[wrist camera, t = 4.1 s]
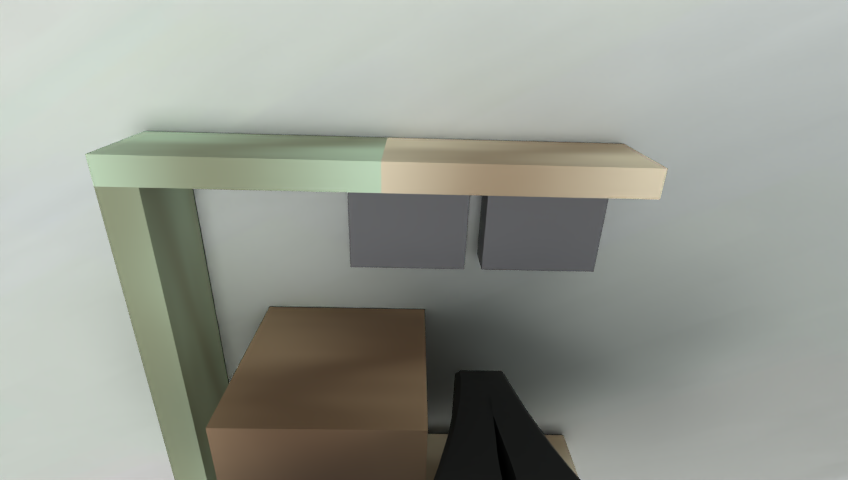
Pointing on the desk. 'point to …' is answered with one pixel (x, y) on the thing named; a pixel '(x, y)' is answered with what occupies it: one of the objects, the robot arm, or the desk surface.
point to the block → (326, 398)
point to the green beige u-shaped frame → (293, 171)
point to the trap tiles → (498, 236)
